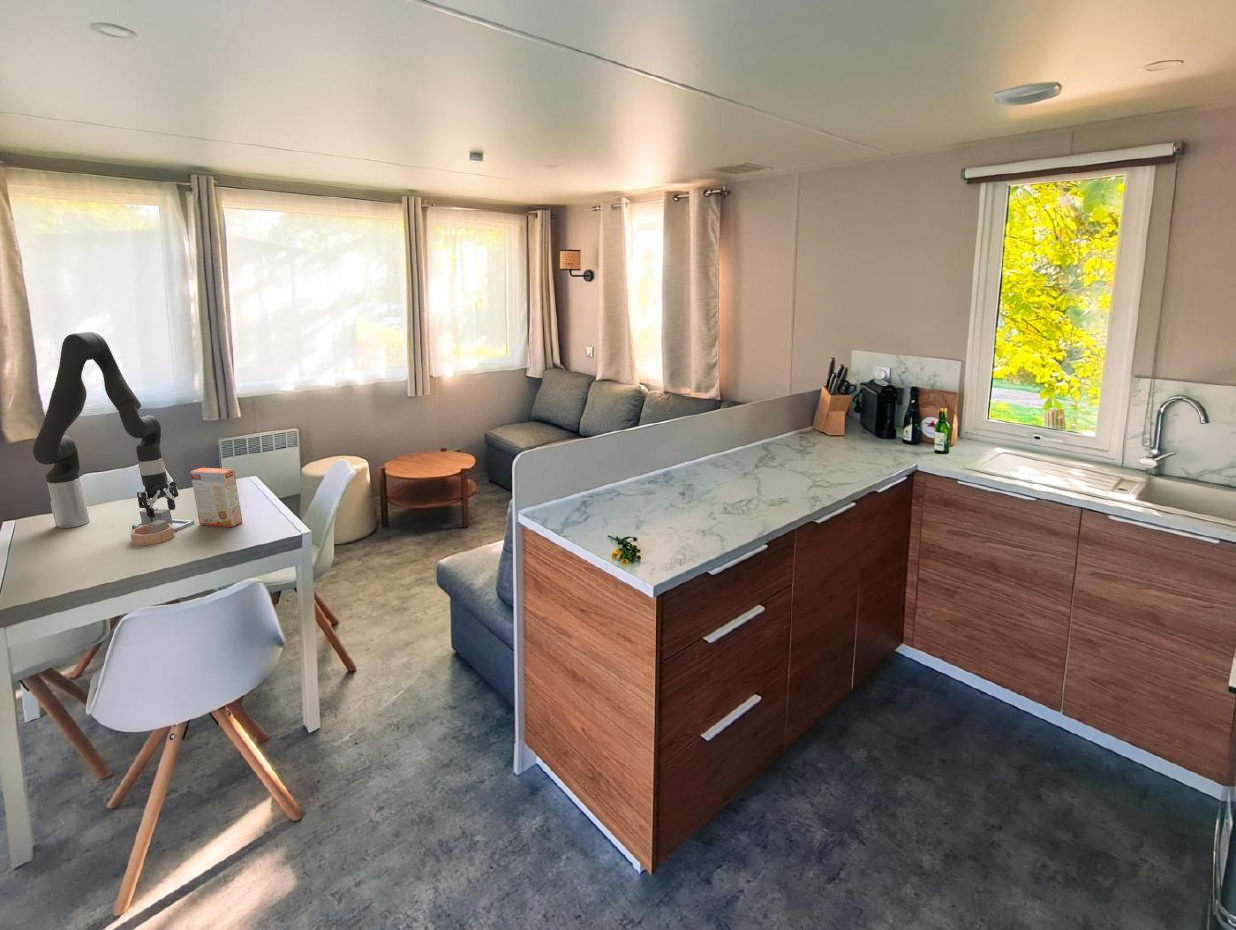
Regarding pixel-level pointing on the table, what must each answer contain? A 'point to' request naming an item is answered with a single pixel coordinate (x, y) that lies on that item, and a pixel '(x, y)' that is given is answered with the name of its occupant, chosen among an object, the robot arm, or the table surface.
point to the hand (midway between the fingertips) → (162, 513)
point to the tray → (176, 524)
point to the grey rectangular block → (157, 526)
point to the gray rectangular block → (163, 515)
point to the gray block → (146, 517)
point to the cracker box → (216, 497)
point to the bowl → (151, 535)
